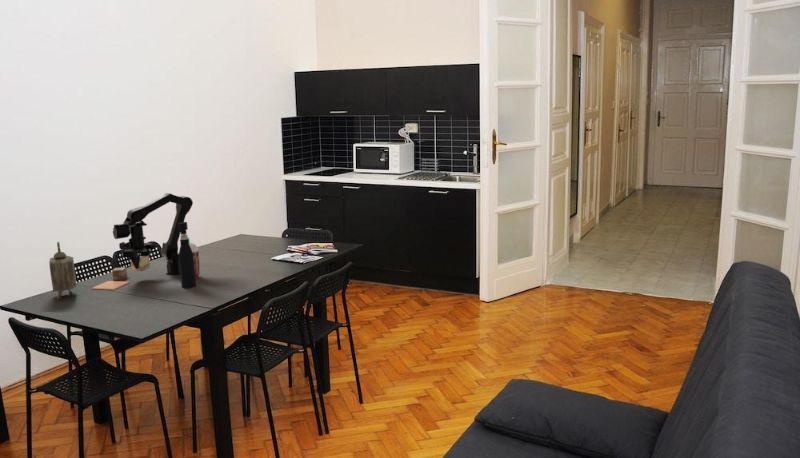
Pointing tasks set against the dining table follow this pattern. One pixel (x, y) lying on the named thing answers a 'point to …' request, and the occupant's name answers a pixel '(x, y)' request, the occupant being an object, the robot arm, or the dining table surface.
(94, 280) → the dining table surface
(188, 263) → the wine bottle
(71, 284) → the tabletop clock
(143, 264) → the maple block
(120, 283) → the terracotta tile
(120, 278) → the walnut block
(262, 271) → the dining table surface
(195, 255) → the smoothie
